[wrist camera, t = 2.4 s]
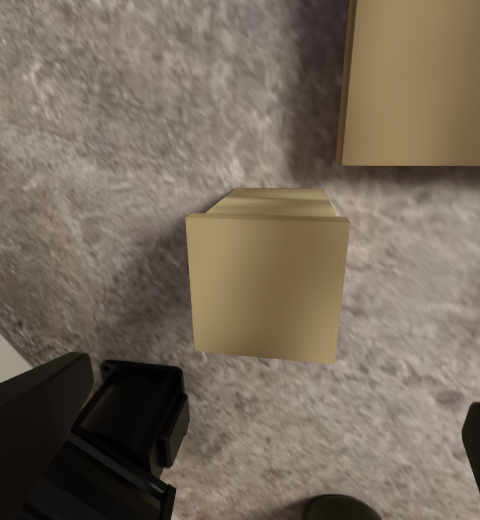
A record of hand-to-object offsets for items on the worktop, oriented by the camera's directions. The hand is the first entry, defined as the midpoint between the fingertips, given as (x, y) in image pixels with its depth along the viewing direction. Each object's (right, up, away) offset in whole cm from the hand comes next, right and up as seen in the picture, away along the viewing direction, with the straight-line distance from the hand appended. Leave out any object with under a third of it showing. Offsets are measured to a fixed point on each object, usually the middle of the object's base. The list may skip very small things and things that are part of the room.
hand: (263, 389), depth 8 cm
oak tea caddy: (+2, +5, +12) cm, 13 cm away
